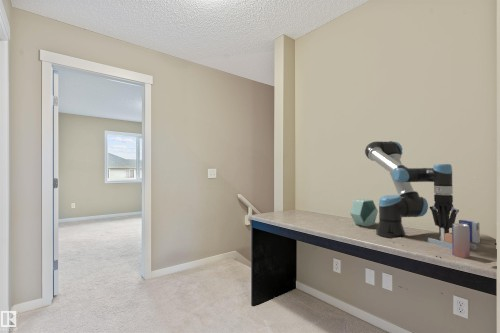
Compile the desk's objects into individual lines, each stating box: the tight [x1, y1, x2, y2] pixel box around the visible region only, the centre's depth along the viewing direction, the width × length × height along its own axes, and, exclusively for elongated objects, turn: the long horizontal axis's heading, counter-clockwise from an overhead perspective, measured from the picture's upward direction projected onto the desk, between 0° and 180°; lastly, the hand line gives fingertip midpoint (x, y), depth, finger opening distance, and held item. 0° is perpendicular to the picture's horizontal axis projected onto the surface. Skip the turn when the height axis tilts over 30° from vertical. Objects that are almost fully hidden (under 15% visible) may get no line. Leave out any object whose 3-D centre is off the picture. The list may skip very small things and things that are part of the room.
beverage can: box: [451, 222, 471, 259], centre depth 111 cm, size 6×6×15 cm
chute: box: [427, 235, 477, 251], centre depth 125 cm, size 16×11×4 cm
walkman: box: [458, 219, 481, 244], centre depth 132 cm, size 8×3×12 cm, turn 25°
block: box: [445, 232, 452, 244], centre depth 123 cm, size 6×6×6 cm
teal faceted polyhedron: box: [350, 198, 379, 227], centre depth 177 cm, size 17×8×21 cm
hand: (444, 240), depth 128 cm, fingers closed
